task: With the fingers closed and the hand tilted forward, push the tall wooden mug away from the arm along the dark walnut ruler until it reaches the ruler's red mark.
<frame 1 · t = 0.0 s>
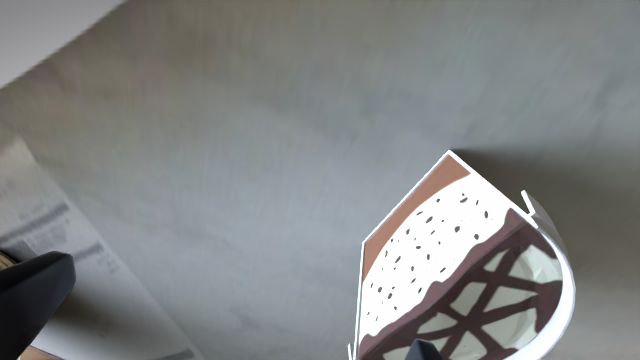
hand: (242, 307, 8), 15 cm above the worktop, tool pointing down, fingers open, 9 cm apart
food container: (435, 220, 24), on the worktop
wooden mug: (13, 274, 31), on the worktop
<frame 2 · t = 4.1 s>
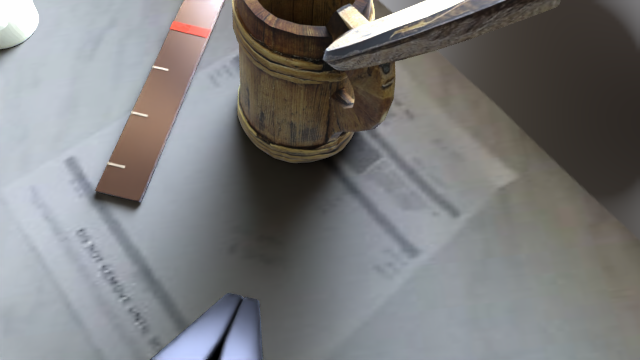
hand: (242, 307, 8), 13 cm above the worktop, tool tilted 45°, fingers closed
ruler: (173, 73, 25), on the worktop
mug: (17, 32, 25), on the worktop
wooden mug: (314, 133, 24), on the worktop
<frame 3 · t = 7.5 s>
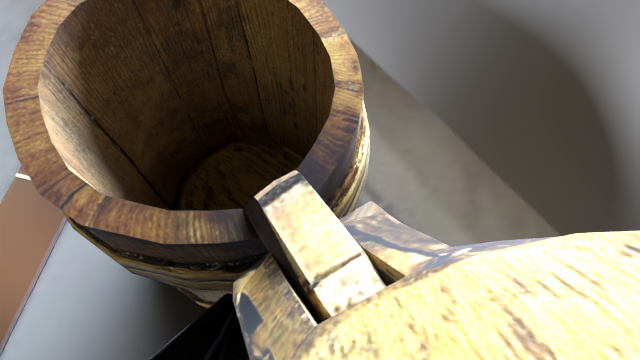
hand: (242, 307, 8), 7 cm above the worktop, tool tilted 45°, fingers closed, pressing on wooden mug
ruler: (51, 184, 16), on the worktop
wooden mug: (275, 257, 16), on the worktop, touching gripper
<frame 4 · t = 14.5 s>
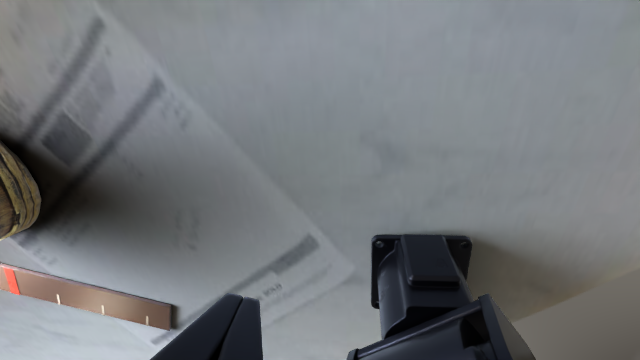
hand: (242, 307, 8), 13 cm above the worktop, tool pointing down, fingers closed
ruler: (60, 289, 28), on the worktop
wooden mug: (0, 163, 23), on the worktop
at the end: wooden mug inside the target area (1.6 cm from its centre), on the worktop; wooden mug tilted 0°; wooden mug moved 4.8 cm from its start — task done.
